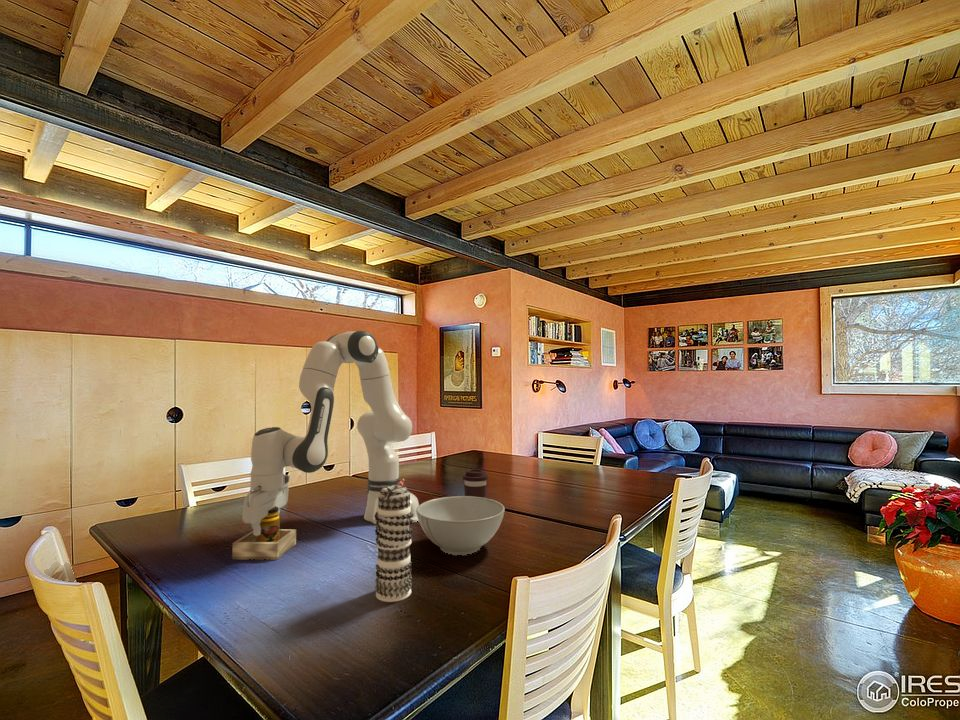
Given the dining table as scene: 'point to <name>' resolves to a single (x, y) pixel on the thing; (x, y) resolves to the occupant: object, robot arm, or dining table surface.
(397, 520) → the decorative candle
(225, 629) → the dining table surface
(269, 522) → the condiment
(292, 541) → the caddy
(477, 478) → the coffee cup
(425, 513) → the decorative bowl
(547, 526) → the dining table surface
